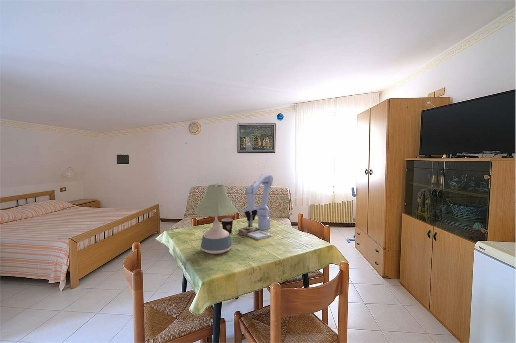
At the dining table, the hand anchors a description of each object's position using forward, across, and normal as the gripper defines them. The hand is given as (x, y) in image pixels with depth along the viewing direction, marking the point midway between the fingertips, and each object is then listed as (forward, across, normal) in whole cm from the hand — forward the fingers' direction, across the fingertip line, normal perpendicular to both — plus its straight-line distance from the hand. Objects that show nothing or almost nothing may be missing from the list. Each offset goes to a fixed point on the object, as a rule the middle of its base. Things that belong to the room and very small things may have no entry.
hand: (250, 220), depth 184 cm
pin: (+5, 0, 0) cm, 5 cm away
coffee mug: (+11, +13, -15) cm, 22 cm away
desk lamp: (+11, +36, +13) cm, 39 cm away
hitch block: (+10, +1, -4) cm, 11 cm away
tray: (+10, -2, +7) cm, 13 cm away
